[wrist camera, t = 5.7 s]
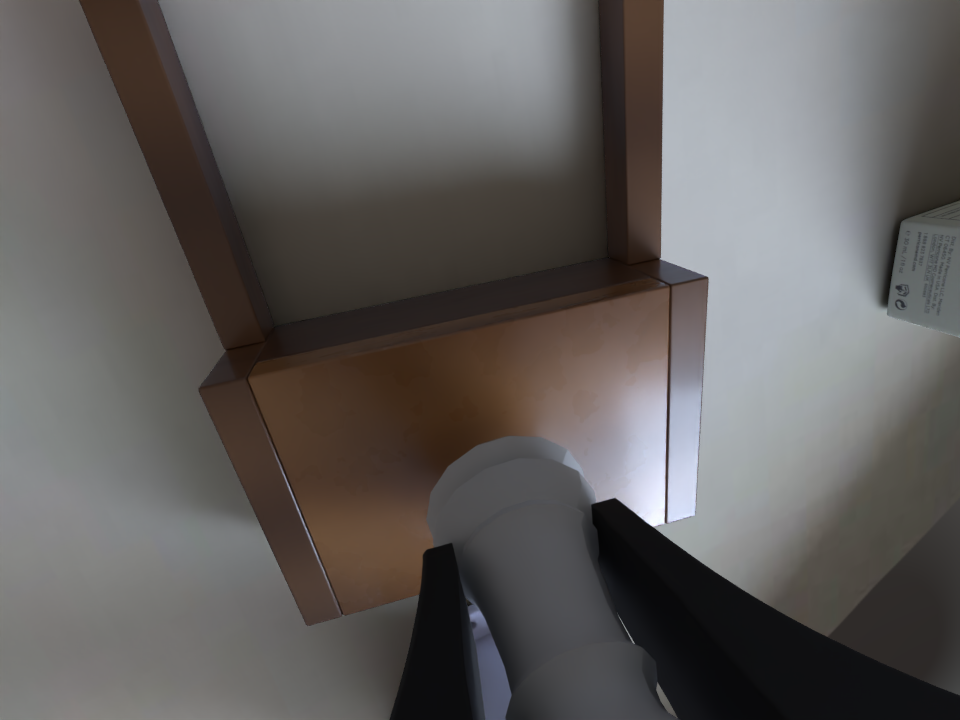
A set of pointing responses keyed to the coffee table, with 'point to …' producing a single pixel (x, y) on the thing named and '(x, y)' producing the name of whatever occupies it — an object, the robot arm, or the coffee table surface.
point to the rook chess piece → (542, 582)
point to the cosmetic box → (928, 271)
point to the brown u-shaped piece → (432, 344)
